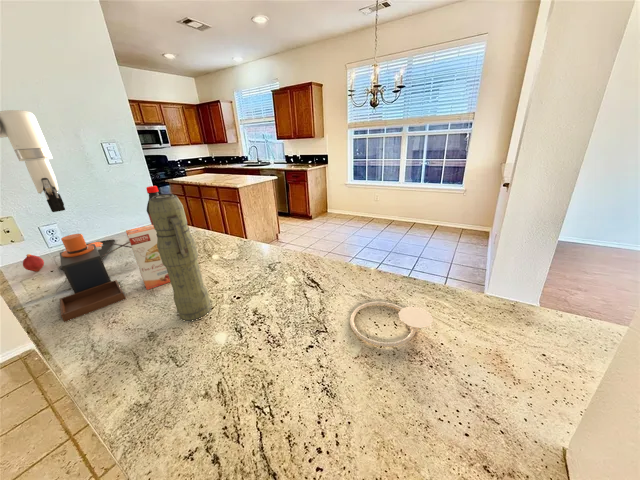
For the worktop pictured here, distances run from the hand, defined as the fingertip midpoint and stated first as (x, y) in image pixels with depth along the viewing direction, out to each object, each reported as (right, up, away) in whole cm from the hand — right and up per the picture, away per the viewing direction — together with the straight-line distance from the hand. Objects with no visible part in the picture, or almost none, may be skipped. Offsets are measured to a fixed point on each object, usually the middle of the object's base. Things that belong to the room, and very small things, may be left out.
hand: (58, 208), depth 88 cm
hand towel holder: (+105, -33, -19) cm, 112 cm away
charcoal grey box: (+3, -27, +9) cm, 28 cm away
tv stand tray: (+14, -31, -2) cm, 34 cm away
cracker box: (+32, -25, +9) cm, 41 cm away
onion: (-29, -24, +21) cm, 43 cm away
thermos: (+50, -32, -10) cm, 61 cm away
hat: (+1, -15, +7) cm, 16 cm away
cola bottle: (+20, -16, +32) cm, 41 cm away
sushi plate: (-10, -16, +35) cm, 40 cm away
